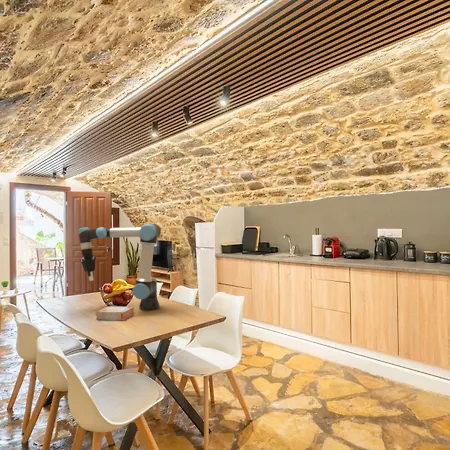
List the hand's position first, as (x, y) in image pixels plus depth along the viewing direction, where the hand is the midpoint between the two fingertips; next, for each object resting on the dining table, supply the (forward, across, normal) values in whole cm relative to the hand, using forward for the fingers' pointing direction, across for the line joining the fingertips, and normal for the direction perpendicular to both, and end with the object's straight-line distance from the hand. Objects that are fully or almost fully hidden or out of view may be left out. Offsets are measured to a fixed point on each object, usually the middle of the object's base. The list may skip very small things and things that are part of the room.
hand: (91, 280), depth 248 cm
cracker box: (+23, +5, +11) cm, 26 cm away
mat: (+28, +1, +20) cm, 34 cm away
